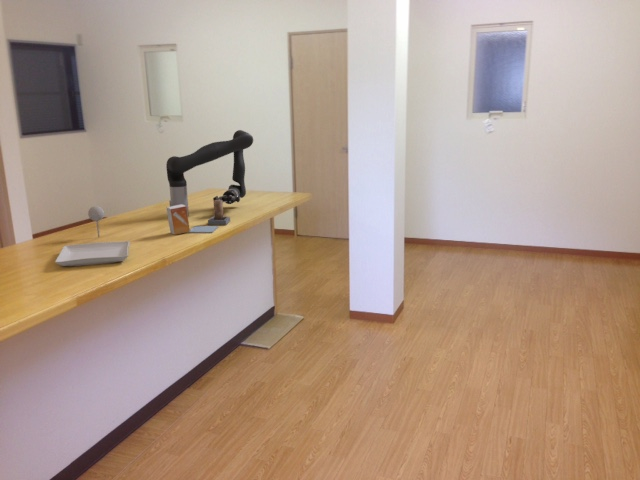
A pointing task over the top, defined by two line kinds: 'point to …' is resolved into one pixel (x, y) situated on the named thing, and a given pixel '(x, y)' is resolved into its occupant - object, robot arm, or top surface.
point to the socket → (218, 221)
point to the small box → (178, 219)
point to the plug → (218, 209)
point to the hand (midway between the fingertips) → (223, 201)
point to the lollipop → (96, 215)
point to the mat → (203, 229)
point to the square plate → (93, 253)
